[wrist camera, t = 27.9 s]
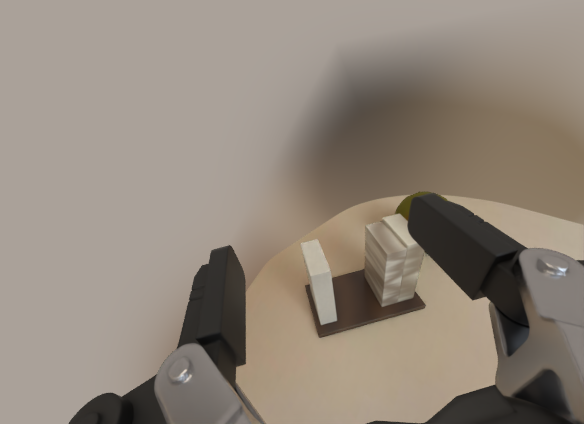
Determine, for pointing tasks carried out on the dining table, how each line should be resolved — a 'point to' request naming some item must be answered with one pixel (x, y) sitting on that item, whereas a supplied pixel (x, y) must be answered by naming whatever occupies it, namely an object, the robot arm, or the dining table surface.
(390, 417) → the dining table surface
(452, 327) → the dining table surface
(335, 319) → the white book
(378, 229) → the white book stand
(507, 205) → the dining table surface
